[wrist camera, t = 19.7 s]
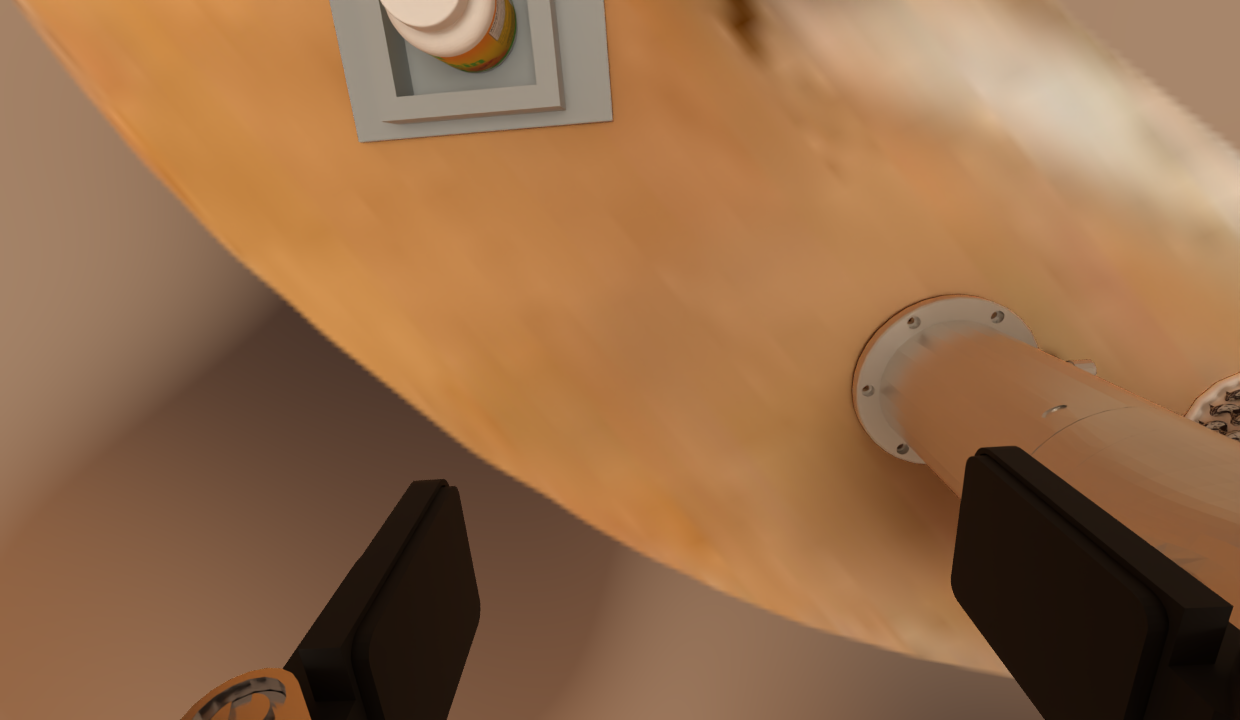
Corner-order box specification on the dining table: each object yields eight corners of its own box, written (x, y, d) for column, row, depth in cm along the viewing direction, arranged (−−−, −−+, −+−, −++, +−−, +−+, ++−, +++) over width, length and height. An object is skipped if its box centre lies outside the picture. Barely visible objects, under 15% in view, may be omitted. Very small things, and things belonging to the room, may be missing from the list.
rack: (595, -109, 33) (591, -142, 29) (612, 121, 37) (611, 116, 33) (318, -80, 33) (280, -109, 30) (364, 142, 37) (335, 140, 34)
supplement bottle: (425, 65, 35) (352, 33, 26) (430, -38, 33) (353, -112, 24) (514, 81, 35) (473, 55, 26) (523, -20, 33) (483, -88, 24)
